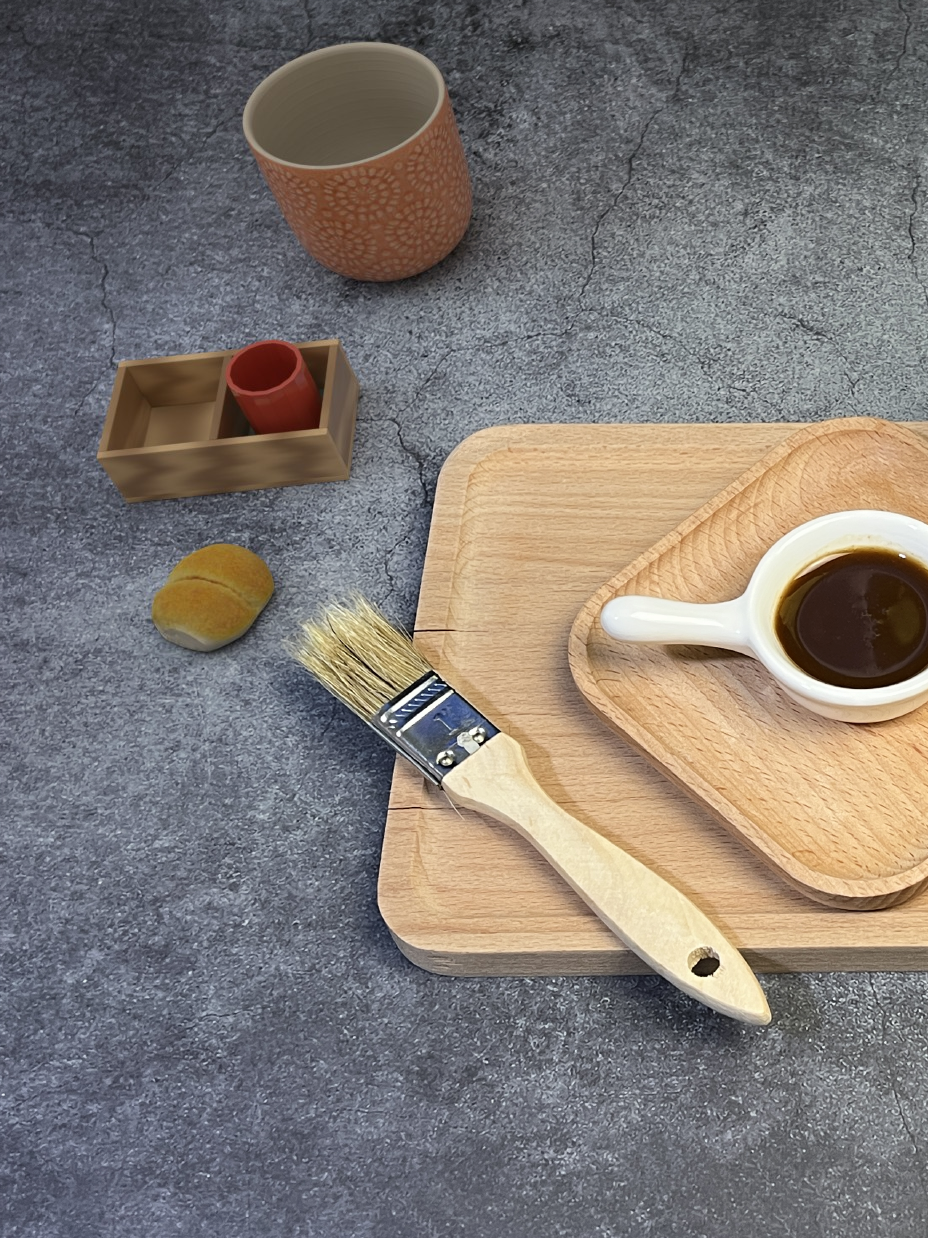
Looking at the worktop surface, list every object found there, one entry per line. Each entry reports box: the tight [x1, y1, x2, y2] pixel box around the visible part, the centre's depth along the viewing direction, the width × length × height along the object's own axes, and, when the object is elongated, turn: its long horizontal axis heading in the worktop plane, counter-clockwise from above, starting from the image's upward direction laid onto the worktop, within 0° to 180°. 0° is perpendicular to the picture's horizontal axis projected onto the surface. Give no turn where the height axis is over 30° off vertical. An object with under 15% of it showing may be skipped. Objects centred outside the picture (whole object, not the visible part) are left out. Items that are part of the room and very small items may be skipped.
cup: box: [225, 339, 323, 435], centre depth 122 cm, size 6×6×8 cm
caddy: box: [96, 338, 361, 504], centre depth 124 cm, size 18×11×6 cm, turn 96°
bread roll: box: [150, 543, 275, 652], centre depth 115 cm, size 8×9×4 cm
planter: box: [242, 41, 473, 283], centre depth 133 cm, size 17×17×15 cm
